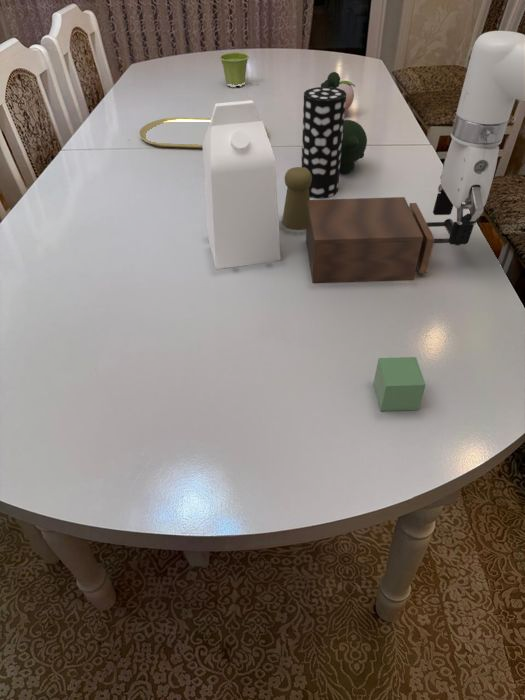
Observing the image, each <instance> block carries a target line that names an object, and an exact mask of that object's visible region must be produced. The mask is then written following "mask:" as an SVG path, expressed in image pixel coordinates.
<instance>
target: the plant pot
mask: <svg viewBox="0 0 525 700" xmlns="http://www.w3.org/2000/svg"><path fill="white" fill-rule="evenodd" d="M249 57H250V56H249V54H247V53H245V52H227V53H223V54H221V55H219V59H220V60H221V64H222V67H223V73H224V78H225V84H226V83H227V84H232V85H233V84H234V85H238V84H242V83H244V82H245V83H246V73H247V65H248V60H249ZM227 87H228V88H230V89H231V88H232V89H237V87H235V88H234V87H229V86H227ZM243 87H244V86H241V87H240V88H243Z"/></svg>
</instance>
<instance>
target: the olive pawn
mask: <svg viewBox="0 0 525 700" xmlns="http://www.w3.org/2000/svg"><path fill="white" fill-rule="evenodd" d="M311 182H312V175H311V173H310V171H309V170H308V169H306V168H303V167H301V166H295V167H291V168H289V169H288V170H287V171H286V172H285V175H284V184H285V186H286V187H287V188H286V195H285V201H284V208H283V213H282V220H281V223H282V225H283V227H285V228H286V229H289V230H292V231H301V230H305V229H306V226H307V205H308V204H307V203H308V200H311V199H310V198H311V197H309V186H310V185H311Z"/></svg>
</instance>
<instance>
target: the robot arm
mask: <svg viewBox="0 0 525 700" xmlns="http://www.w3.org/2000/svg"><path fill="white" fill-rule="evenodd" d="M516 100H519V101H523V102H525V34H523V33H520V32H517V31H509V30H492V31H491V30H490V31H486V32H483V33H482V34H480V35H479V36H478V37H477V39H476V40H475V41H474V44H473V47H472V50H471V55H470V58H469V62H468V65H467V69H466V73H465V77H464V81H463V85H462V89H461V93H460V96H459V100H458V104H457V108H456V113H455V117H454V120H453V124H452V128H451V132H450V138H451V141H450V144H449V147H448V150H447V152H446V156H445V159H444V161H443V164H442V165H443V166H442V171H441V175H440V184H439V185H438V187H437V192H438V193H436V194H437V195H436V198H435V203H434V206H433V211H432V214H433V215H434V216H450V215H451V214H452V211H453V208H456V221H453V222H454V224H453V227H452V231H451V234H450V235H449V237H448V238H449V241H448V242H449V243H448V244H450V245H455V244H461V245H467V244H469V241H470V239H471V235H472V232H473V230H474V226H475V225H477V222H479V220H480V217H481V216H482V215H483V213H484V211H485V210H484V209H485V208H484V207H485V206H486V204H487V200H488V198H489V195H490V192H491V188H492V185H493V180H494V176H495V172H496V169H497V163H498V159H499V151H500V145H501V143H502V141H503V139H504V135H505V133H506V130H507V127H508V124H509V120H510V117H511V114H512V111H513V108H514V105H515V102H516ZM465 202H470V203H465ZM464 210H470V211H469V212H468V213H466V214H464Z"/></svg>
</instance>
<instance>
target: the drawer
mask: <svg viewBox="0 0 525 700" xmlns="http://www.w3.org/2000/svg"><path fill="white" fill-rule="evenodd" d="M408 206H409V208H410V210H411V212H412V214H413V216H414V218H415V220H416V222H417V224H418V227H419V229H420V231H421V233H422V235H423V241H422V245H421V249H420V253H419V258H418V262H417V266H416V270H417V271H418V273H419V274H427V271H428V268H429V263H430V259H431V256H432V251H433V247H434V244H449V242H448V241H449V237H447V238H446V237H445V238H435V237H434V235H433V233H432V231H431V229H430V228H433V227H434V228H435V227H444V228H445V230H446V232H447V233H448V236H450V234H451V231H452V227H453V224H454V222H455V221H453V219H452V218H447V219H445V220H444V221H434V222H433V221H432V222H430V221H429V222H427V221H426V219H425V217H424V215H423V213H422V211H421V209H420V207H419V206H418V203H417V202H409V204H408ZM461 245H462V244H454V246H456V247H460V246H461Z"/></svg>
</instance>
